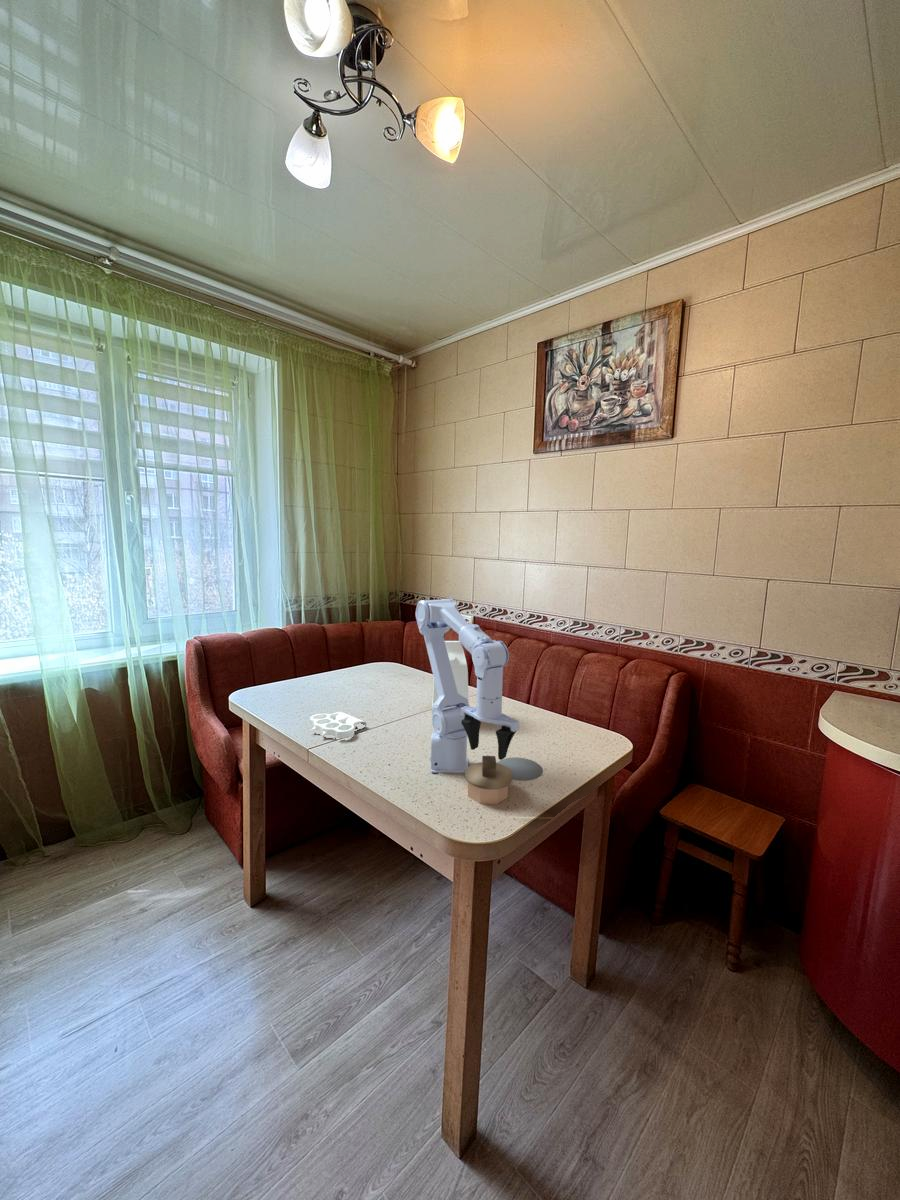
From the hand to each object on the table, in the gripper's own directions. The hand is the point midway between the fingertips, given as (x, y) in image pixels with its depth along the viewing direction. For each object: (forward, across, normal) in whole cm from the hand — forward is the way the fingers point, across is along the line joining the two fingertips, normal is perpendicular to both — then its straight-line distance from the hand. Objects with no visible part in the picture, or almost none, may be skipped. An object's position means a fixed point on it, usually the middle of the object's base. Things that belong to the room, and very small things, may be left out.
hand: (488, 752), depth 103 cm
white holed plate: (+11, +56, 0) cm, 57 cm away
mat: (+10, 0, -14) cm, 18 cm away
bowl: (+10, 0, 0) cm, 10 cm away
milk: (+10, +35, -31) cm, 48 cm away
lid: (+6, 0, 0) cm, 6 cm away
